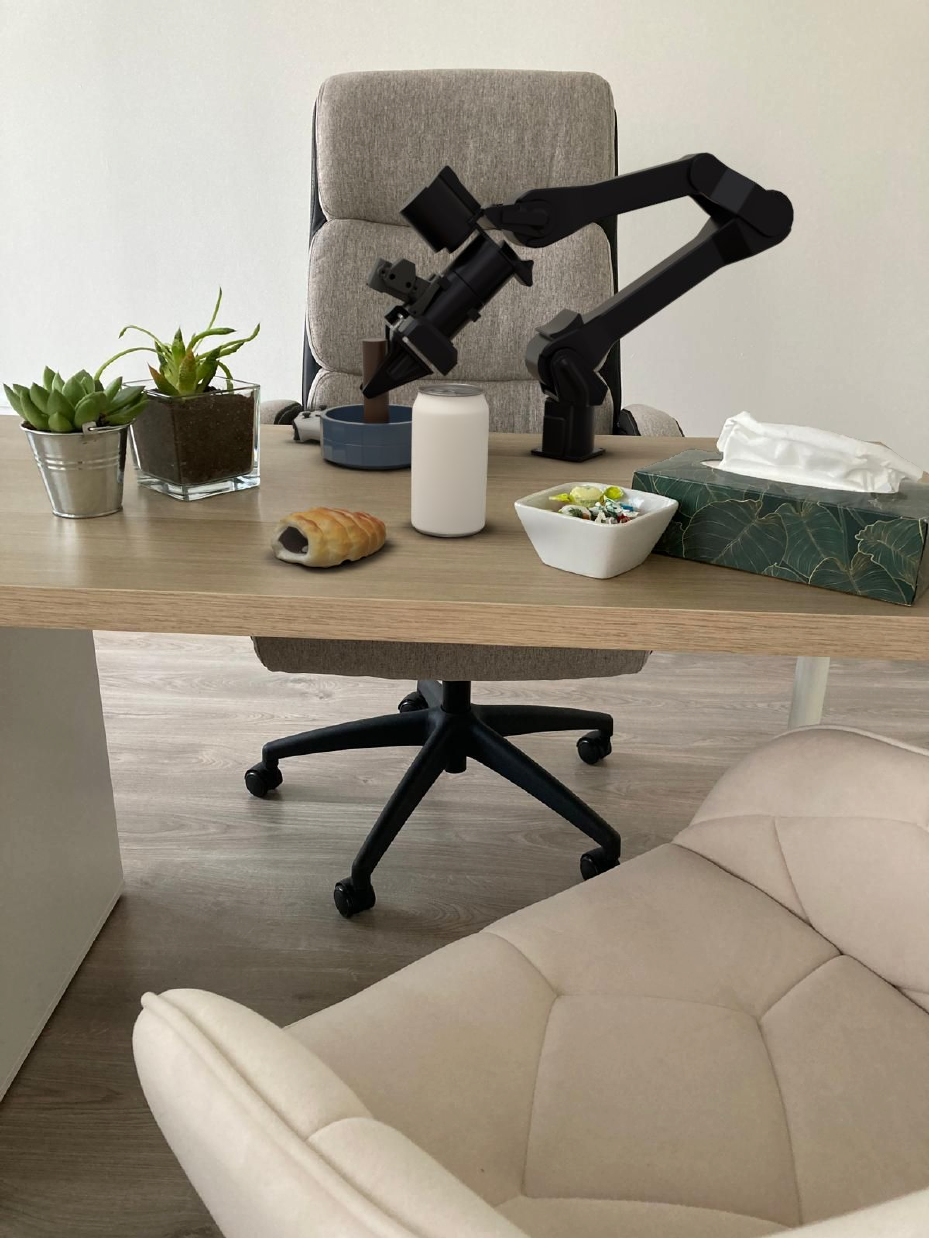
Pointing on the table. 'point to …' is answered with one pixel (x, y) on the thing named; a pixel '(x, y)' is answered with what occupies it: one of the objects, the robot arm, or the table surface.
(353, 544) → the pastry
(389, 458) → the bowl
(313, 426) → the game controller
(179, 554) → the table surface
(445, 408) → the can
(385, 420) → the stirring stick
